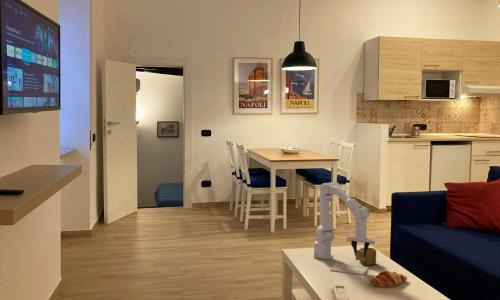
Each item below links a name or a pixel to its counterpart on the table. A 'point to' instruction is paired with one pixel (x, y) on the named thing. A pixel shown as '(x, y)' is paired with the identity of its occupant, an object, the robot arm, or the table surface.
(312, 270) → the table surface
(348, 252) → the table surface
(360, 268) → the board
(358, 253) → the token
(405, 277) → the croissant
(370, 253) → the mug
